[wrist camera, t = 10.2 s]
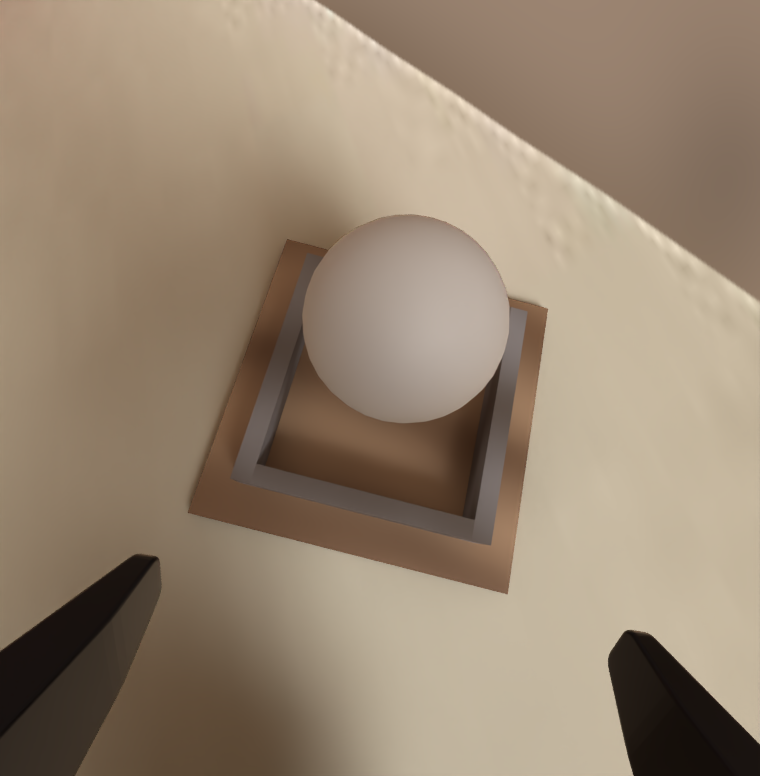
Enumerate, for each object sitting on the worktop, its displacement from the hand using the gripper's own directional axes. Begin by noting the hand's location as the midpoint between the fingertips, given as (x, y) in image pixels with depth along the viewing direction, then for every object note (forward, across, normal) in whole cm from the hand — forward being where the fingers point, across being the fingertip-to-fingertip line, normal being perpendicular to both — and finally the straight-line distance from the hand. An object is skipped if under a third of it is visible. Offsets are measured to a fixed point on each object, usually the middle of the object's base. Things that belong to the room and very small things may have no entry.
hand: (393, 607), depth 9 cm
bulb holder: (+13, 0, +3) cm, 14 cm away
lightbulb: (+13, 0, +2) cm, 13 cm away
